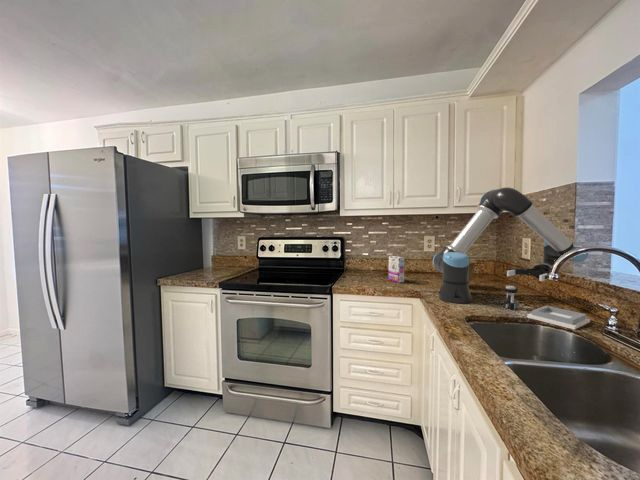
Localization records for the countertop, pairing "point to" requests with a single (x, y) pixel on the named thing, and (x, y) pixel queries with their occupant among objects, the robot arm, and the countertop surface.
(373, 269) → the countertop surface
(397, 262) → the candy bar box
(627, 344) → the countertop surface
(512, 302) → the push button
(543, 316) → the tray
